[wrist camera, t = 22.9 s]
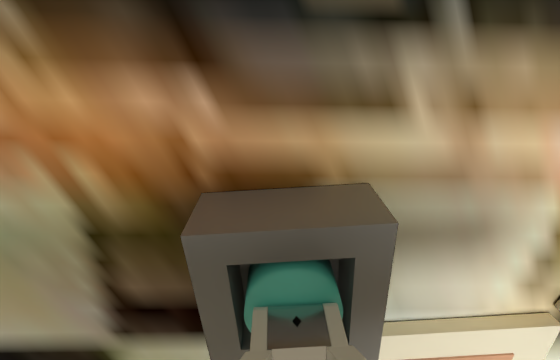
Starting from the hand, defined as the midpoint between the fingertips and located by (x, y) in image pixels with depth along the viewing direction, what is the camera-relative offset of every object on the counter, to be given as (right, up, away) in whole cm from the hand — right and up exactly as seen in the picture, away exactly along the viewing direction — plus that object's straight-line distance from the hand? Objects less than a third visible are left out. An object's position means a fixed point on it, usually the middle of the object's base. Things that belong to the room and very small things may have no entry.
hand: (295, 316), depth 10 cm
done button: (0, +1, +2) cm, 2 cm away
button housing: (0, +1, +3) cm, 3 cm away
